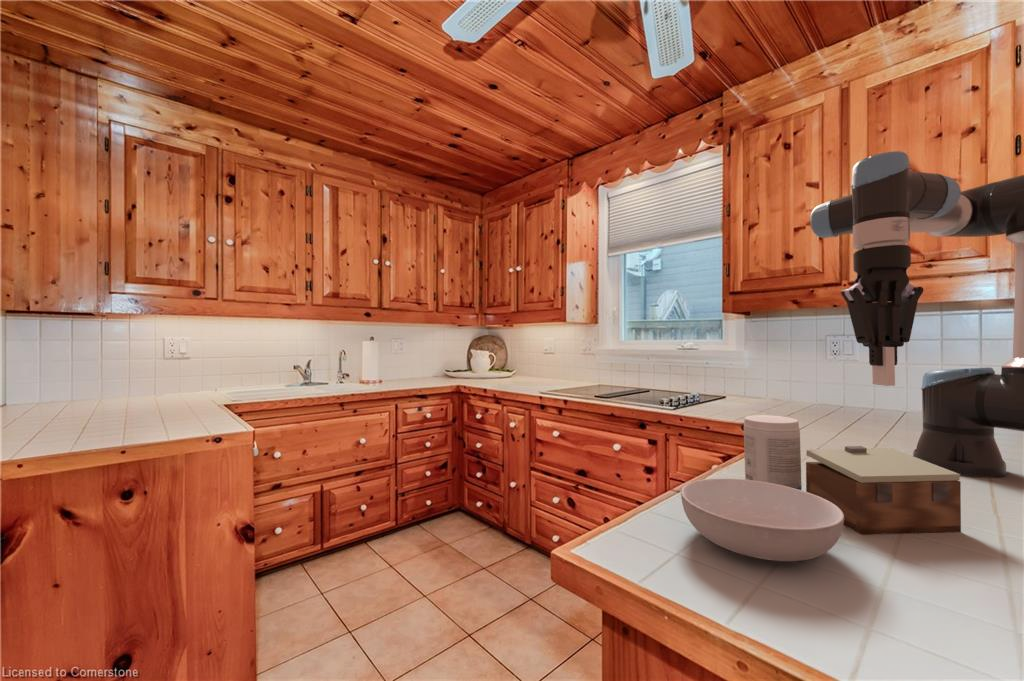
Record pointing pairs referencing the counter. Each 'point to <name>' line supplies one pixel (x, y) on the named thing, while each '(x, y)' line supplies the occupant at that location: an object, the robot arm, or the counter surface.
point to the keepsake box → (888, 502)
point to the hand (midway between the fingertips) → (883, 384)
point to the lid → (881, 465)
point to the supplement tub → (772, 450)
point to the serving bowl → (762, 518)
